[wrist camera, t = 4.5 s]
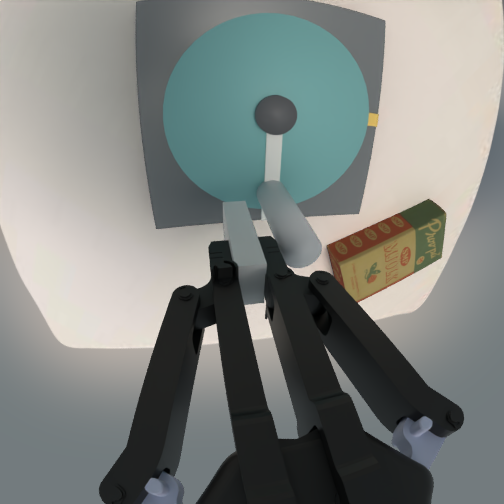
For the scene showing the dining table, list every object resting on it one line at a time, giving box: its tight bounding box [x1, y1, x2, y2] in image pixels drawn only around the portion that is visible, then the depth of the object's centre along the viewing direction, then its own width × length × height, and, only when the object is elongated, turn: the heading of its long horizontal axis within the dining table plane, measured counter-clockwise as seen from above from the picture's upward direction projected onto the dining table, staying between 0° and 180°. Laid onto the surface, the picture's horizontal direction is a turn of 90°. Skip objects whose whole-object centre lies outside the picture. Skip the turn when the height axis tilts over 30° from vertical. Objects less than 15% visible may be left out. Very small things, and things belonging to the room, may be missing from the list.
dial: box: [163, 13, 369, 268], centre depth 16 cm, size 16×16×10 cm
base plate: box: [136, 0, 385, 229], centre depth 20 cm, size 20×20×2 cm
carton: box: [327, 199, 446, 303], centre depth 32 cm, size 8×16×4 cm, turn 111°
